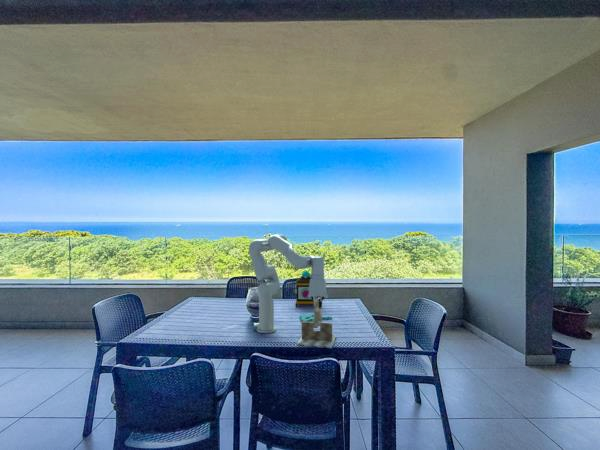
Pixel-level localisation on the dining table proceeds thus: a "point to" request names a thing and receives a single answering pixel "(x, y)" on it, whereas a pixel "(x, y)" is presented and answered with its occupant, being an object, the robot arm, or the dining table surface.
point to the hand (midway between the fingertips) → (318, 307)
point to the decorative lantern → (303, 290)
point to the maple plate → (317, 313)
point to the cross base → (319, 343)
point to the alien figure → (311, 318)
